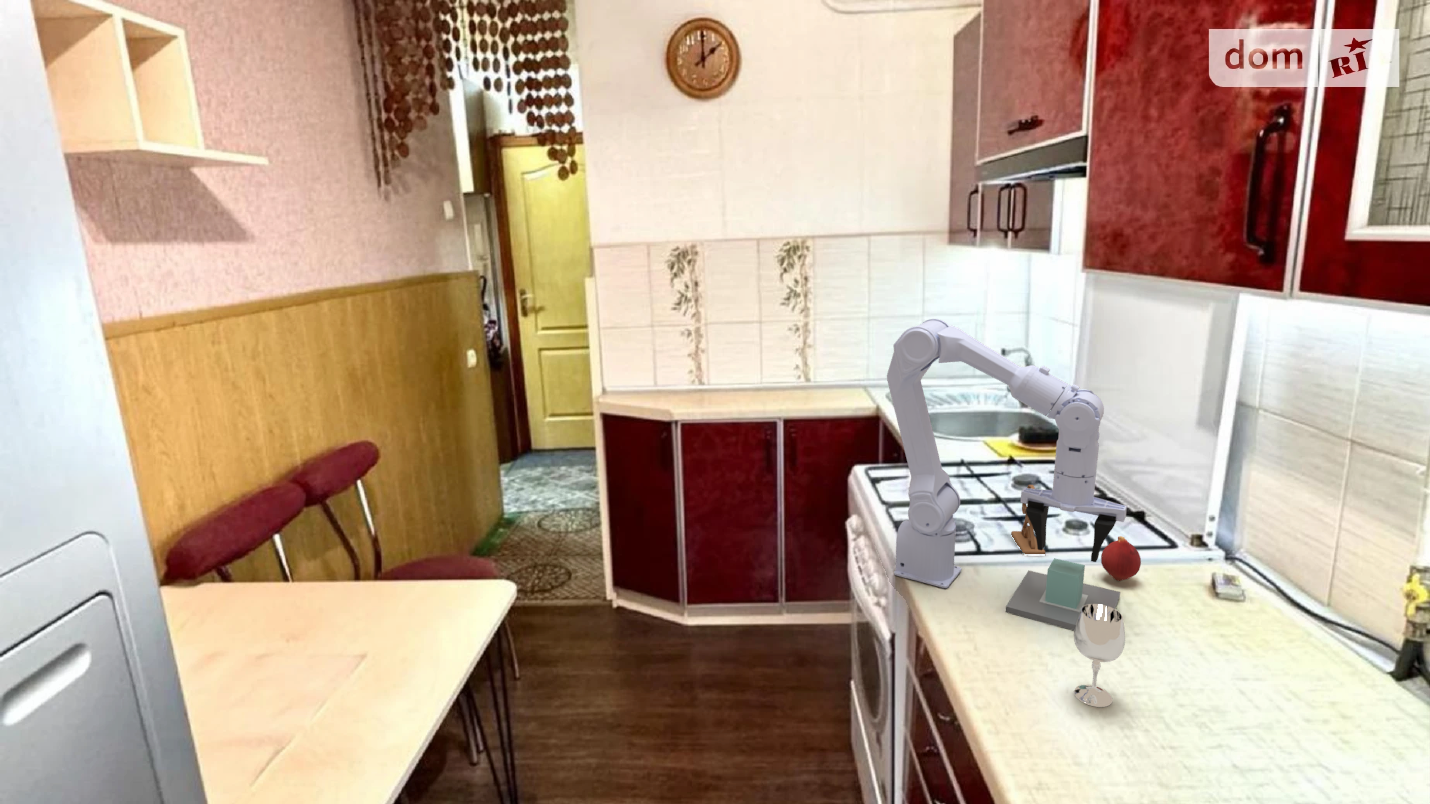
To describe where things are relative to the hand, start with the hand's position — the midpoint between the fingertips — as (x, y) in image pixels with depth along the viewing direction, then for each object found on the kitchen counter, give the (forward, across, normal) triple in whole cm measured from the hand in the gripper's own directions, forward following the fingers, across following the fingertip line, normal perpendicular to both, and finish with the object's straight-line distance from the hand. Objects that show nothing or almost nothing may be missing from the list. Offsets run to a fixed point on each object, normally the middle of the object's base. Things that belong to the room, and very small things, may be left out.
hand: (1067, 553), depth 115 cm
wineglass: (+9, +8, -22) cm, 25 cm away
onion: (+9, +6, +13) cm, 17 cm away
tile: (+9, 0, 0) cm, 9 cm away
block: (+8, 0, 0) cm, 8 cm away
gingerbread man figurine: (+9, -10, +19) cm, 23 cm away
